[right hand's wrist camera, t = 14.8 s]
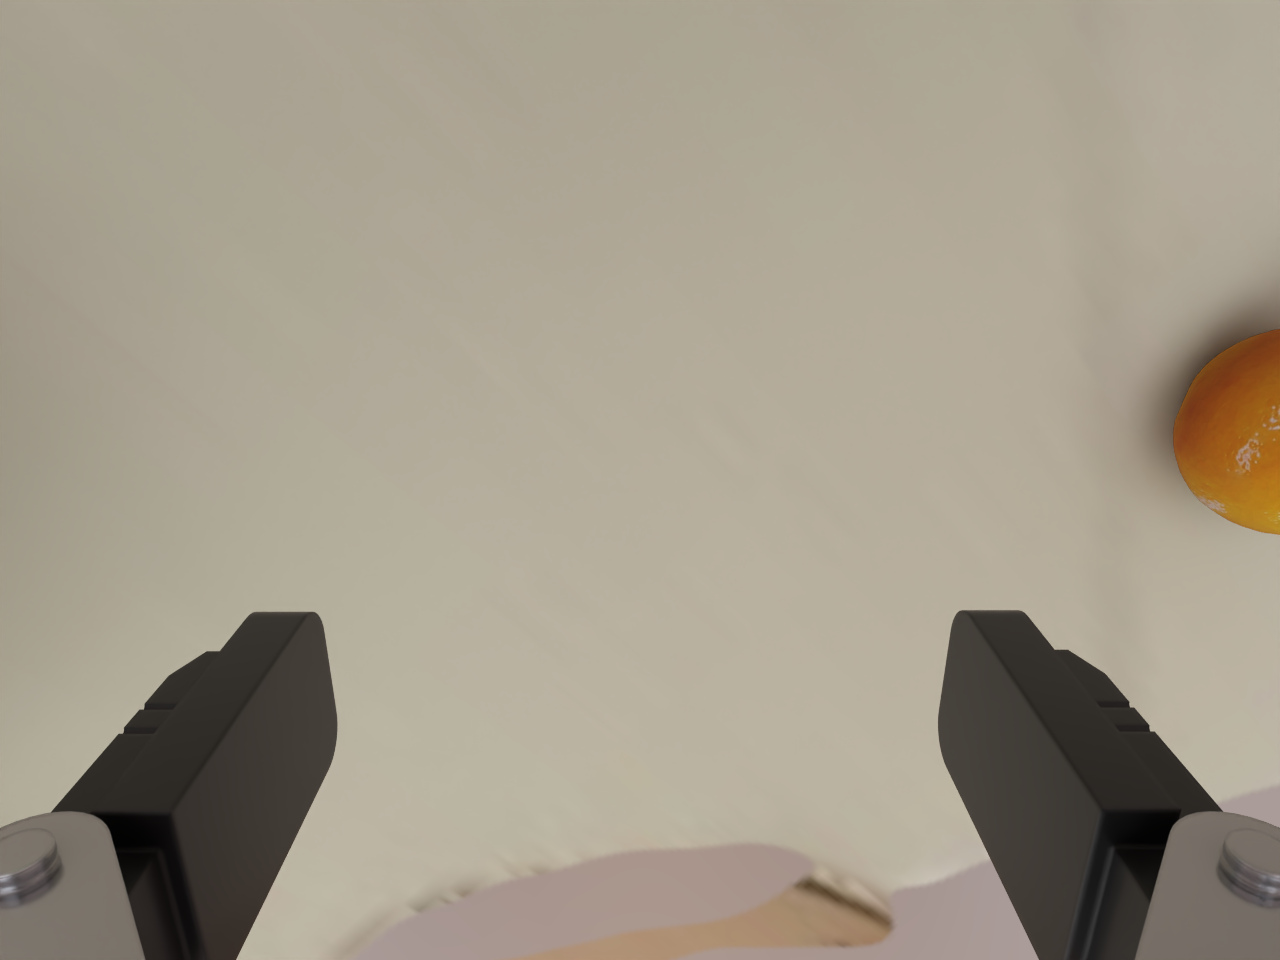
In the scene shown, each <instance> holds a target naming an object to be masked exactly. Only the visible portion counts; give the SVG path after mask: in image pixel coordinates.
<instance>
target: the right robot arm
mask: <svg viewBox="0 0 1280 960" xmlns="http://www.w3.org/2000/svg"><path fill="white" fill-rule="evenodd" d="M938 733H939V742H940V748H941V752H942V756H943V759H944V762H945V765H946V767H947V769H948V771H949V773H950V775H951V778H952V780H953V782H954V784H955V786H956V788H957V790H958V792H959V794H960V796H961V798H962V800H963V802H964V805H965V807H966V809H967V811H968V813H969V815H970V817H971V819H972V821H973V823H974V825H975V827H976V829H977V832H978V834H979V836H980V838H981V840H982V842H983V844H984V846H985V848H986V850H987V852H988V854H989V857H990V859H991V861H992V863H993V865H994V867H995V869H996V871H997V873H998V875H999V877H1000V879H1001V881H1002V884H1003V886H1004V888H1005V890H1006V892H1007V894H1008V896H1009V898H1010V900H1011V902H1012V904H1013V906H1014V908H1015V911H1016V913H1017V915H1018V917H1019V919H1020V921H1021V923H1022V925H1023V927H1024V929H1025V931H1026V933H1027V935H1028V938H1029V940H1030V942H1031V944H1032V946H1033V948H1034V950H1035V952H1036V954H1037V956H1038V958H1039V960H1280V828H1279V827H1276V826H1274V825H1271V824H1269V823H1266V822H1264V821H1260V820H1258V819H1254V818H1251V817H1248V816H1243V815H1239V814H1235V813H1227V812H1223V811H1222V810H1221V809H1220V807H1219V806H1218V805H1217V804H1216V803H1215V802H1214V800H1213V799H1212V798H1211V797H1210V796H1209V795H1208V793H1207V792H1206V791H1205V790H1204V789H1203V788H1202V786H1201V785H1200V784H1199V783H1198V782H1197V781H1196V779H1195V778H1194V777H1193V776H1192V775H1191V773H1190V772H1189V771H1188V770H1187V769H1186V768H1185V766H1184V765H1183V764H1182V763H1181V762H1180V761H1179V759H1178V758H1177V757H1176V756H1175V755H1174V754H1173V752H1172V751H1171V750H1170V749H1169V748H1168V747H1167V745H1166V744H1165V743H1164V742H1163V741H1162V740H1161V738H1160V737H1159V736H1158V735H1157V734H1156V733H1155V732H1150V729H1149V724H1148V723H1147V722H1146V721H1145V720H1144V719H1143V717H1142V716H1141V715H1140V714H1139V713H1138V712H1137V710H1136V709H1135V708H1130V706H1129V701H1128V700H1127V699H1126V698H1125V696H1124V695H1123V694H1122V693H1121V692H1120V691H1119V689H1118V688H1117V687H1116V686H1115V685H1114V684H1113V682H1112V681H1111V680H1110V679H1109V678H1108V676H1107V675H1106V674H1105V673H1103V672H1102V671H1100V670H1098V669H1097V668H1095V667H1094V666H1092V665H1091V664H1089V663H1088V662H1086V661H1084V660H1083V659H1081V658H1080V657H1078V656H1077V655H1075V654H1074V653H1072V652H1070V651H1069V650H1054V648H1053V647H1052V646H1051V645H1050V643H1049V642H1048V641H1047V640H1046V638H1045V637H1044V636H1043V635H1042V633H1041V632H1040V631H1039V630H1038V628H1037V627H1036V626H1035V625H1034V623H1033V622H1032V621H1031V620H1030V618H1029V617H1028V616H1027V615H1026V614H1025V613H1024V612H1022V611H1019V610H962V611H959V612H958V613H957V614H956V616H955V618H954V620H953V623H952V627H951V633H950V640H949V647H948V653H947V660H946V667H945V674H944V680H943V687H942V694H941V700H940V707H939V715H938ZM336 739H337V713H336V706H335V699H334V693H333V686H332V679H331V673H330V666H329V660H328V653H327V646H326V640H325V633H324V628H323V624H322V621H321V619H320V617H319V615H318V614H317V613H315V612H253V613H252V614H250V615H249V616H248V617H247V618H246V619H245V621H244V622H243V623H242V624H241V626H240V627H239V628H238V629H237V631H236V632H235V633H234V634H233V636H232V637H231V638H230V639H229V641H228V642H227V643H226V644H225V646H224V647H223V648H222V649H221V650H220V651H207V652H205V653H204V654H202V655H200V656H199V657H197V658H196V659H194V660H193V661H191V662H190V663H188V664H186V665H185V666H183V667H182V668H180V669H179V670H177V671H175V672H174V673H172V674H171V675H169V676H168V677H167V679H166V680H165V681H164V682H163V683H162V684H161V685H160V687H159V688H158V689H157V690H156V691H155V692H154V694H153V695H152V696H151V697H150V698H149V699H148V701H147V702H146V703H145V707H144V710H139V711H138V712H137V713H136V714H135V716H134V717H133V718H132V719H131V720H130V721H129V723H128V724H127V725H126V726H125V727H124V733H123V734H118V735H117V736H116V738H115V739H114V740H113V741H112V742H111V743H110V745H109V746H108V747H107V748H106V749H105V750H104V751H103V753H102V754H101V755H100V756H99V757H98V758H97V760H96V761H95V762H94V763H93V764H92V765H91V767H90V768H89V769H88V770H87V771H86V772H85V773H84V775H83V776H82V777H81V778H80V779H79V780H78V782H77V783H76V784H75V785H74V786H73V787H72V789H71V790H70V791H69V792H68V793H67V794H66V795H65V797H64V798H63V799H62V800H61V801H60V802H59V804H58V805H57V806H56V807H55V808H54V809H53V811H52V812H51V813H45V814H41V815H37V816H32V817H29V818H26V819H22V820H19V821H16V822H13V823H11V824H9V825H6V826H4V827H1V828H0V960H236V959H237V956H238V954H239V952H240V950H241V948H242V946H243V944H244V942H245V940H246V938H247V936H248V934H249V932H250V930H251V928H252V926H253V924H254V922H255V920H256V917H257V915H258V913H259V911H260V909H261V907H262V905H263V903H264V901H265V899H266V897H267V895H268V893H269V891H270V889H271V887H272V885H273V883H274V881H275V878H276V876H277V874H278V872H279V870H280V868H281V866H282V864H283V862H284V860H285V858H286V856H287V854H288V852H289V850H290V848H291V846H292V844H293V842H294V839H295V837H296V835H297V833H298V831H299V829H300V827H301V825H302V823H303V821H304V819H305V817H306V815H307V813H308V811H309V809H310V807H311V805H312V803H313V800H314V798H315V796H316V794H317V792H318V790H319V788H320V786H321V784H322V782H323V780H324V778H325V776H326V774H327V772H328V770H329V767H330V765H331V762H332V759H333V756H334V752H335V746H336Z"/></svg>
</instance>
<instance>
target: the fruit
mask: <svg viewBox="0 0 1280 960" xmlns="http://www.w3.org/2000/svg"><path fill="white" fill-rule="evenodd" d="M1173 441H1174V452H1175V456H1176V460H1177V463H1178V466H1179V470H1180V472H1181V474H1182V476H1183V478H1184V480H1185V482H1186V483H1187V485H1188V487H1189V488H1190V490H1191V491H1192V492H1193V494H1194V495H1195V496H1196V497H1197V498H1198V499H1199V500H1200V501H1201V502H1202V503H1203V504H1205V505H1206V506H1207V507H1209V508H1210V509H1211V510H1213V511H1214V512H1216V513H1217V514H1219V515H1221V516H1222V517H1224V518H1225V519H1227V520H1229V521H1231V522H1233V523H1236V524H1238V525H1240V526H1243V527H1246V528H1250V529H1253V530H1256V531H1260V532H1264V533H1271V534H1278V535H1280V329H1276V330H1272V331H1269V332H1266V333H1262V334H1258V335H1255V336H1252V337H1250V338H1248V339H1246V340H1243V341H1241V342H1239V343H1237V344H1235V345H1233V346H1231V347H1230V348H1228V349H1226V350H1225V351H1223V352H1221V353H1220V354H1219V355H1217V356H1216V357H1215V358H1214V359H1212V360H1211V361H1210V362H1209V363H1208V364H1206V365H1205V366H1204V368H1203V369H1202V370H1201V371H1200V372H1199V374H1198V375H1197V376H1196V377H1195V379H1194V380H1193V382H1192V384H1191V386H1190V388H1189V389H1188V392H1187V394H1186V396H1185V398H1184V400H1183V403H1182V405H1181V408H1180V410H1179V412H1178V415H1177V417H1176V420H1175V424H1174V433H1173Z"/></svg>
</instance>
